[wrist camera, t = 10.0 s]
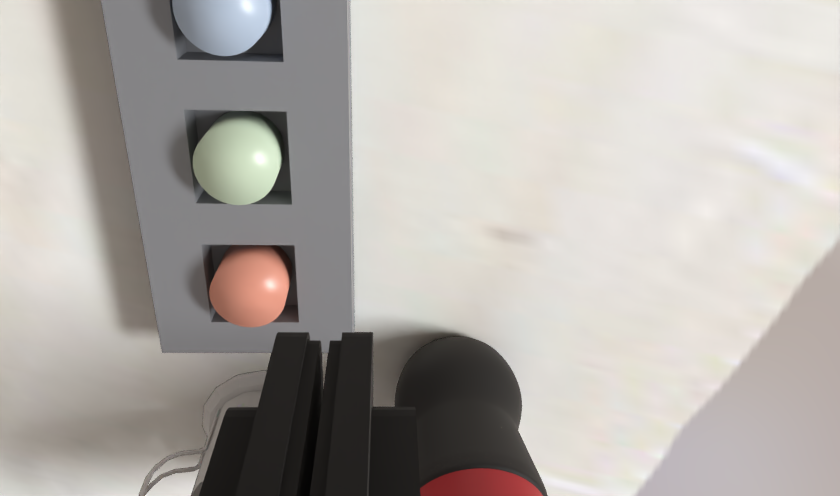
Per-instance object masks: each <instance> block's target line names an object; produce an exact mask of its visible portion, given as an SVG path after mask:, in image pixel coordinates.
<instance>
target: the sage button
mask: <svg viewBox="0 0 840 496" xmlns="http://www.w3.org/2000/svg"><path fill="white" fill-rule="evenodd" d="M284 155H285V145H284V141H283V138H282V135H281V133H280V131H279V130H278V128H277V127H276V126H275V125H274V123H273V122H272V121H270V120H269V119H268V118H266V117H265V116H263V115H261V114H259V113H256V112H253V111H231V112H228V113H226V114H224V115H222V116H221V117H219V118H218V119H217V120H216V121H215V122H214V123H213V125H212V126H211V127H210V129H209V130H208V131H207V132H206V134H205V135H204V136H203V138H202V139H201V140H200V142H199V143H198V145H197V146H196V149H195V151H194V155H193V169H194V173H195V176H196V178H197V180H198V182H199V184H200V185H201V187H202V188H203V189H204V190H205V191H206V192H207V193H208V194H209V195H211V196H212V197H214V198H215V199H217V200H219V201H221V202H224V203H227V204H232V205H247V204H251V203H254V202H256V201H259V200H260V199H262V198H263V197H265V196H266V195H267V194H268V193H269V192H270V190H271V189H272V187H273V185H274V183H275V181H276V178H277V175H278V173H279V170H280V168H281V165H282V163H283V160H284Z"/></svg>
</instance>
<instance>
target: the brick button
mask: <svg viewBox="0 0 840 496" xmlns="http://www.w3.org/2000/svg"><path fill="white" fill-rule="evenodd" d="M291 278H292V265H291V261H290V259H289V257H288V256H287V254H286V253H285V252H284V250H282V249H281V248H280V247H279V246H278V245H232V246H230V247H229V248H228V249H227V251H226V252H225V254H224V256H223V258H222V260H221V262H220V265H219V267H218V269H217V271H216V273H215V276H214V278H213V280H212V282H211V285H210V290H209V294H210V300H211V303H212V305H213V307H214V309H215V310H216V312H217V313H218V314H219V315H220V316H221V317H223V318H224V319H225V320H227V321H228V322H230V323H232V324H235V325H238V326H242V327H260V326H263V325H266V324H269V323H270V322H272V321H274V320H275V319H276V318H277V317H278V316H279V315H280V314H281V312H282V310H283V309H284V306H285V302H286V298H287V294H288V290H289V286H290V282H291Z"/></svg>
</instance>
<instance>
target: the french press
mask: <svg viewBox="0 0 840 496" xmlns="http://www.w3.org/2000/svg"><path fill="white" fill-rule="evenodd" d="M266 373H267V371H264V370H263V371H257V372H252V373H246V374H241V375H236V376H235V377H233V378H231V379H230V380H228V381H226V382H225V383H223V384H221V385H220V386H218V387H216V388H215V390H214V391H213V393H212V394H211V396H210V397H209V399H208V400H207V402H206V403H205V405H204V410H203V422H202V426H203V429H204V431H205V433H206V435H207V440H206V443H205V446H204V448H201V449H199V450H189V451H180V452H178V453H175V454H172V455H170V456H167V457H166V458H164V459H163V460H162V461H160V462H159V463H158V464H156V465H155V466H154V467H153V468H152V470H151V471H150V472H149V473H148V475H147V476H146V478H145V480H144V483H143V485H142V488H141V490H140V492H139V496H145V495H146V494H147V492H148V491H149V490H150V489H151V488H152V487H153V486H154V485H155V484H156V483H157V482H158V481H160V480H161V479H162V478H164V477H166V476H169V475H172V474H175V473H182V472H191V471H195V470H197V469H199V468H200V470H199V473H198V476H197V479H196V482H195V485H194V488H193V491H192V494H191V496H199V493H200V490H201V487H202V484H203V481H204V478H205V474H206V471H207V468H208V465H209V462H210V459H211V455H212V452H213V449H214V446H215V443H216V440H217V436H218V433H219V430H220V427H221V424H222V421H223V417H224V415H225V412H226V410H227V409H228V408H229V407H258V404H259V400H260V396H261V392H262V389H263V385H264V381H265V377H266ZM201 453H202V454H201ZM192 454H201V457H200V460H199V463H198V464H197V465H196V466H195V467H188V468H180V469H174V470H171V471H169V472H166V473H163V474H161V475H159V476H158V477H157V478H156V479H155V480H154V481H152V482H151V483H150V484H149V482H150V480H151V478H152V476H153V474H154V472H155V471H157V470H158V469H159V468H160V467H161V466H162V465H163V464H164V463H165V462H166V461H167V460H170V459H173V458H175V457H178V456H182V455H192ZM148 484H149V485H148Z"/></svg>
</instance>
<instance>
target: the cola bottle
mask: <svg viewBox="0 0 840 496" xmlns="http://www.w3.org/2000/svg"><path fill="white" fill-rule="evenodd" d="M395 407H415V409H416V423H417V441H418V459H419V477H420V495H421V496H547V492H546V489H545V487H544V484H543V482H542V480H541V478H540V476H539V473H538V471H537V469H536V467H535V465H534V463H533V461H532V459H531V457H530V455H529V453H528V450H527V448H526V446H525V444H524V442H523V440H522V438H521V436H520V434H519V432H518V428H519V424H520V419H521V411H522V400H521V393H520V388H519V385H518V382H517V380H516V377H515V375H514V373H513V371H512V370H511V368H510V367H509V365H508V364H507V362H506V361H505V360H504V358H503V357H502V356H501V355H500V354H499V353H498V352H497V351H496V350H494V349H493V348H492V347H490V346H489V345H487V344H485V343H483V342H481V341H479V340H476V339H472V338H467V337H448V338H443V339H439V340H436V341H433V342H431V343H429V344H427V345H425V346H424V347H422V348H421V349H419V350H418V351H417V352H416V353H415V354H414V355H413V356H412V357H411V358H410V359H409V361H408V362H407V364H406V365H405V367H404V369H403V371H402V373H401V376H400V378H399V381H398V385H397V389H396V395H395Z"/></svg>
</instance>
